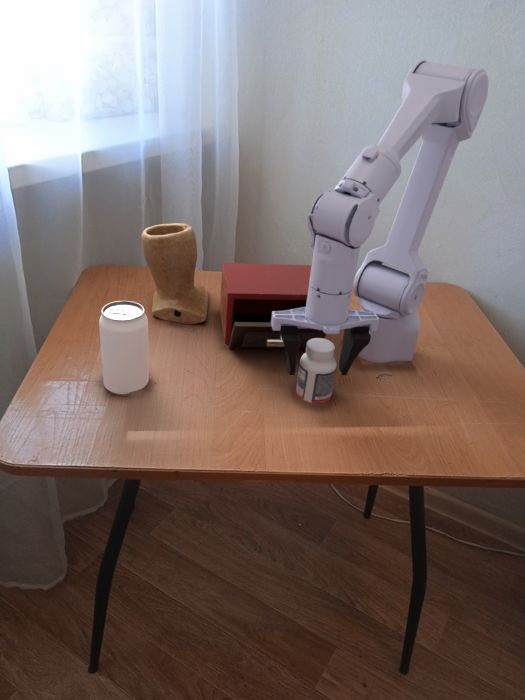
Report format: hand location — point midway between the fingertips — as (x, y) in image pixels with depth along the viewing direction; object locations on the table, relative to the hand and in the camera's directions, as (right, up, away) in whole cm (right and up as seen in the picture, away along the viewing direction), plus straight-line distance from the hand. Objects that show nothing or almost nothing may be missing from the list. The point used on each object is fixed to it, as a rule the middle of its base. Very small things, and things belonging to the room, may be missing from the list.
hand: (316, 371), depth 80 cm
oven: (-7, +7, +18) cm, 20 cm away
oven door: (-6, +2, +11) cm, 13 cm away
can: (-28, -2, +1) cm, 28 cm away
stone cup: (-24, +11, +22) cm, 34 cm away
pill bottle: (0, -4, +2) cm, 5 cm away
